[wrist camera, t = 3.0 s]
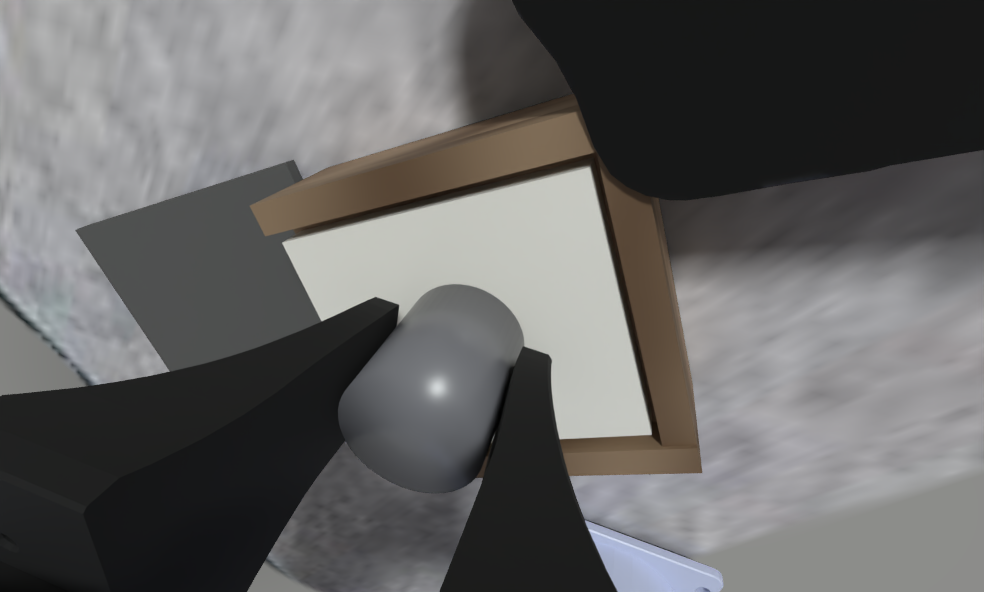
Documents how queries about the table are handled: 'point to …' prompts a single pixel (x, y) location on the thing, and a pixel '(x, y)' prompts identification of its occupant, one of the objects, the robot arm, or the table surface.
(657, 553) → the robot arm
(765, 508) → the table surface
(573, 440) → the walnut case
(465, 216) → the cover plate
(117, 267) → the rubber mat
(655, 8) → the black sponge
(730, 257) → the table surface
